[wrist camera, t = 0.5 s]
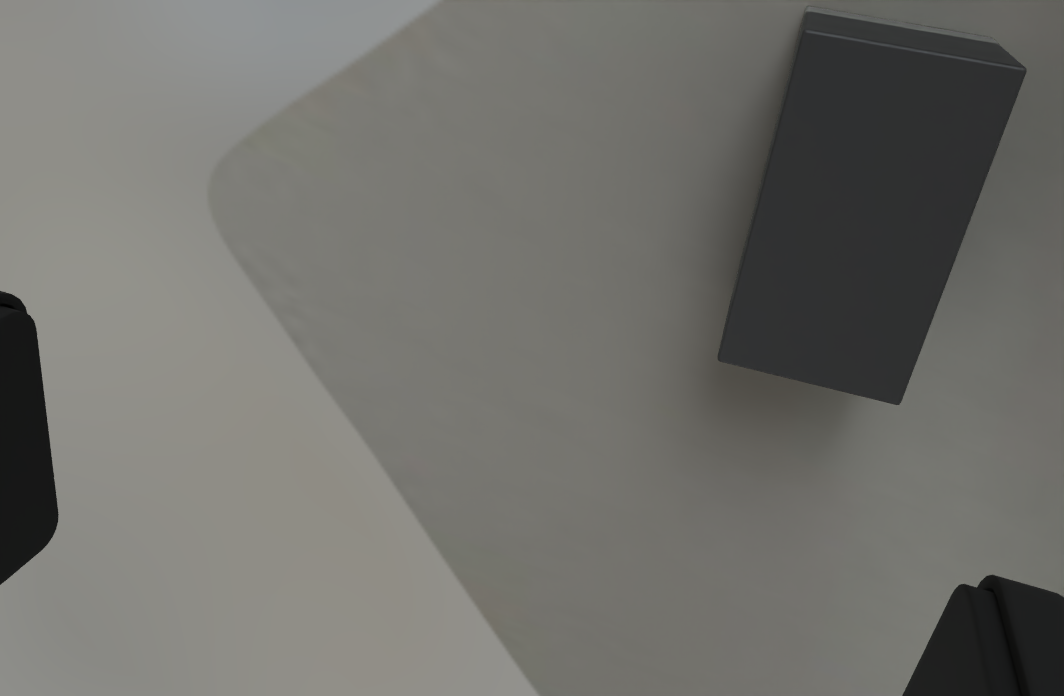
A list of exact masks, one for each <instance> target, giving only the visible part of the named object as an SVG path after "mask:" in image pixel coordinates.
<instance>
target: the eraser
mask: <svg viewBox="0 0 1064 696" xmlns="http://www.w3.org/2000/svg"><path fill="white" fill-rule="evenodd" d="M1025 74H1026V68H1025V67H1024V66H1023V65H1022V64H1021V63H1019V62H1018V61H1017V60H1016V59H1015V58H1014V57H1012V56H1011V55H1010V54H1009V53H1008V52H1007V51H1006V50H1004V49H1003V48H1002V47H1001V46H1000V45H999V43H998V42H996V41H995V40H994V39H993V38H992V37H986V36H980V35H974V34H968V33H962V32H957V31H951V30H945V29H939V28H933V27H928V26H922V25H916V24H910V23H904V22H899V21H893V20H887V19H881V18H875V17H869V16H864V15H858V14H852V13H846V12H840V11H835V10H829V9H823V8H817V7H811V6H807V7H806V10H805V14H804V18H803V22H802V25H801V29H800V33H799V37H798V41H797V45H796V49H795V52H794V56H793V60H792V64H791V68H790V72H789V76H788V80H787V83H786V87H785V91H784V95H783V99H782V103H781V107H780V110H779V114H778V118H777V122H776V126H775V130H774V134H773V137H772V141H771V145H770V149H769V153H768V157H767V161H766V164H765V168H764V172H763V176H762V180H761V184H760V188H759V192H758V195H757V199H756V203H755V207H754V211H753V215H752V219H751V222H750V226H749V230H748V234H747V238H746V242H745V246H744V249H743V253H742V257H741V261H740V265H739V269H738V273H737V276H736V280H735V284H734V288H733V292H732V296H731V300H730V305H729V309H728V314H727V318H726V323H725V327H724V331H723V336H722V340H721V345H720V349H719V353H718V360H719V361H720V362H724V363H729V364H733V365H737V366H741V367H745V368H749V369H753V370H757V371H761V372H765V373H769V374H773V375H777V376H781V377H785V378H789V379H794V380H798V381H802V382H806V383H810V384H814V385H818V386H822V387H826V388H830V389H834V390H838V391H842V392H846V393H850V394H854V395H858V396H863V397H867V398H871V399H875V400H879V401H883V402H887V403H891V404H895V405H899V404H900V403H901V401H902V398H903V396H904V393H905V390H906V388H907V385H908V383H909V380H910V377H911V375H912V372H913V369H914V367H915V364H916V361H917V359H918V356H919V354H920V351H921V348H922V346H923V343H924V340H925V338H926V335H927V332H928V330H929V327H930V325H931V322H932V319H933V317H934V314H935V311H936V309H937V306H938V303H939V301H940V298H941V296H942V293H943V290H944V288H945V285H946V282H947V280H948V277H949V274H950V272H951V269H952V267H953V264H954V261H955V259H956V256H957V253H958V251H959V248H960V245H961V243H962V240H963V238H964V235H965V232H966V230H967V227H968V224H969V222H970V219H971V216H972V214H973V211H974V208H975V206H976V203H977V201H978V198H979V195H980V193H981V190H982V187H983V185H984V182H985V179H986V177H987V174H988V172H989V169H990V166H991V164H992V161H993V158H994V156H995V153H996V150H997V148H998V145H999V143H1000V140H1001V137H1002V135H1003V132H1004V129H1005V127H1006V124H1007V121H1008V119H1009V116H1010V114H1011V111H1012V108H1013V106H1014V103H1015V100H1016V98H1017V95H1018V92H1019V90H1020V87H1021V85H1022V82H1023V79H1024V77H1025Z"/></svg>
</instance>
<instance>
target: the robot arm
mask: <svg viewBox="0 0 1064 696" xmlns="http://www.w3.org/2000/svg"><path fill="white" fill-rule="evenodd" d="M57 523H58V507H57V498H56V490H55V482H54V473H53V466H52V457H51V449H50V440H49V431H48V423H47V415H46V406H45V398H44V391H43V381H42V373H41V365H40V356H39V348H38V339H37V331H36V326H35V323H34V320H33V319H32V318H31V316H30V315H28V314H27V311H26V307H25V306H24V304H23V303H22V301H21V300H20V299H19V298H17V297H15V296H14V295H12V294H9V293H5V292H2V291H0V585H1V584H2V583H3V582H4V581H6V580H7V579H8V578H9V577H10V576H12V575H13V574H14V573H15V572H16V571H18V570H19V569H20V568H21V567H22V566H23V565H25V564H26V563H27V562H28V561H29V560H31V559H32V558H33V557H34V556H35V555H37V554H38V553H39V552H40V551H41V550H42V549H43V548H44V547H45V546H46V545H47V544H48V543H49V541H50V540H51V538H52V537H53V535H54V532H55V530H56V527H57ZM903 696H1064V597H1062V596H1061V595H1059V594H1058V593H1054V592H1051V591H1047V590H1044V589H1040V588H1037V587H1033V586H1030V585H1026V584H1023V583H1019V582H1016V581H1012V580H1009V579H1005V578H1002V577H998V576H995V575H989V576H986V577H985V578H984V579H983V580H982V581H981V582H980V583H979V585H978V587H977V588H976V587H973V586H969V585H966V584H961V585H959V586H958V587H957V588H956V589H955V590H954V592H953V594H952V595H951V597H950V599H949V601H948V603H947V605H946V607H945V609H944V611H943V614H942V616H941V618H940V620H939V622H938V624H937V626H936V628H935V630H934V632H933V634H932V636H931V638H930V640H929V642H928V644H927V646H926V648H925V650H924V652H923V655H922V657H921V659H920V661H919V663H918V665H917V667H916V669H915V671H914V673H913V675H912V677H911V679H910V681H909V683H908V685H907V687H906V689H905V691H904V694H903Z"/></svg>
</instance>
